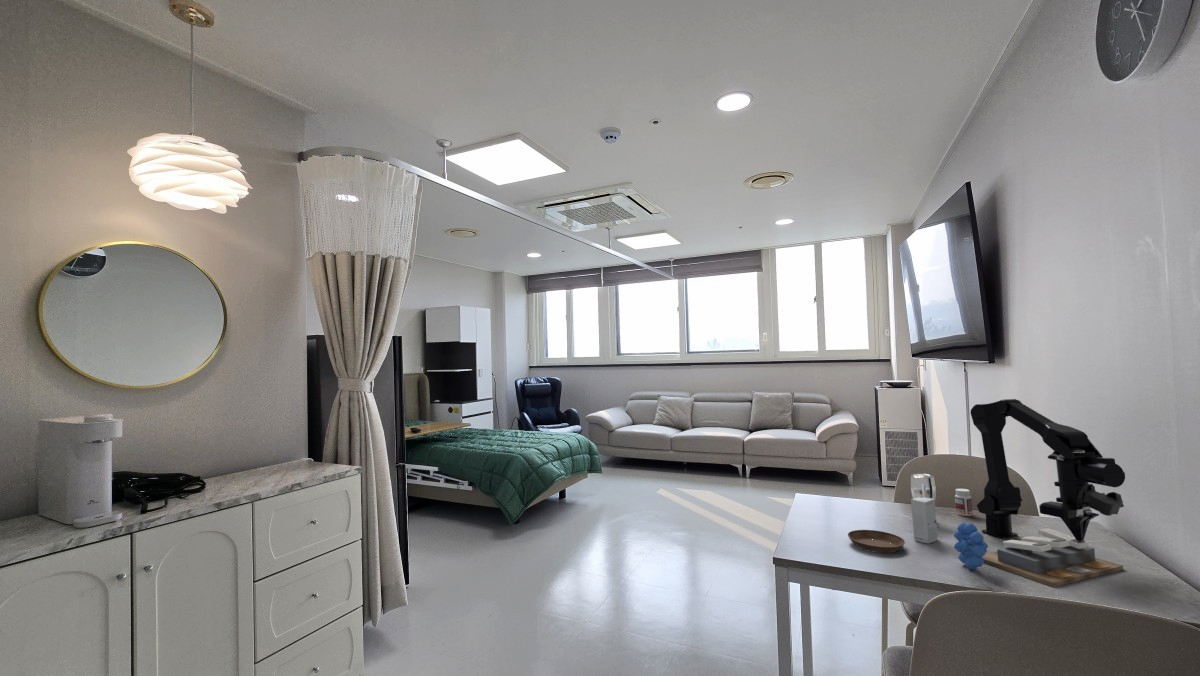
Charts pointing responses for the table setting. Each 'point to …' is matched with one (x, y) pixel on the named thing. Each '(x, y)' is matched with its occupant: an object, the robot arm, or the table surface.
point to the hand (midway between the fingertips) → (1080, 540)
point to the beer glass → (923, 486)
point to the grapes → (970, 545)
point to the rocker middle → (1047, 541)
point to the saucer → (876, 540)
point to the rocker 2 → (1063, 537)
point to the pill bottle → (963, 502)
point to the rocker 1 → (1027, 545)
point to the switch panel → (1051, 578)
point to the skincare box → (924, 520)
